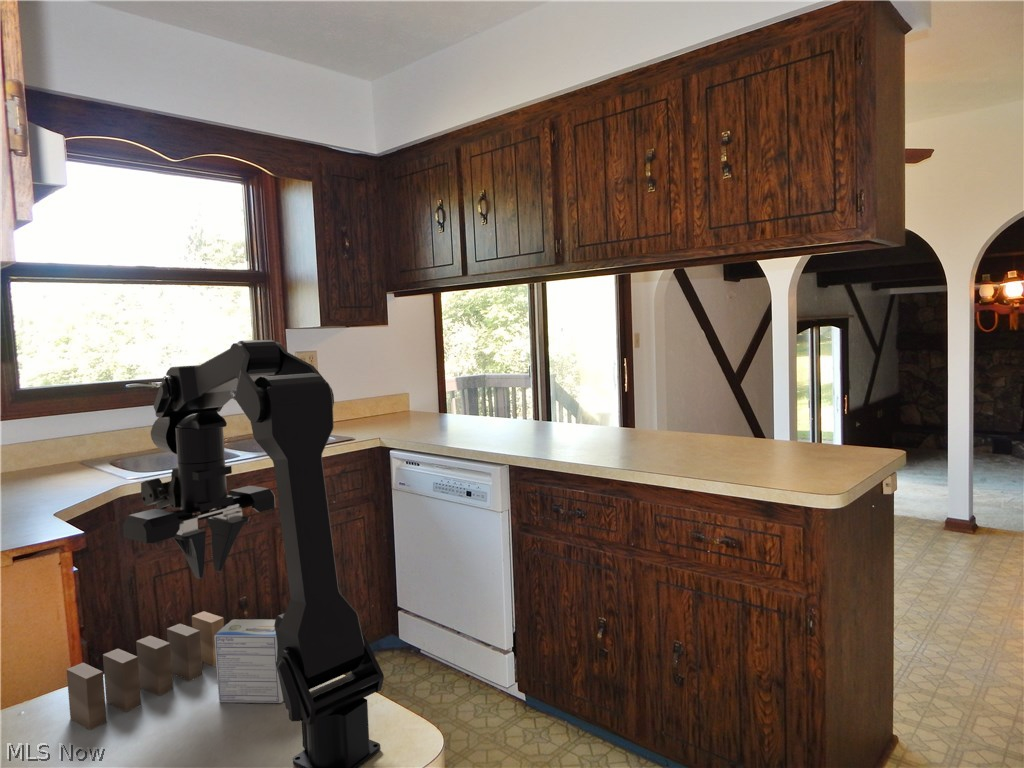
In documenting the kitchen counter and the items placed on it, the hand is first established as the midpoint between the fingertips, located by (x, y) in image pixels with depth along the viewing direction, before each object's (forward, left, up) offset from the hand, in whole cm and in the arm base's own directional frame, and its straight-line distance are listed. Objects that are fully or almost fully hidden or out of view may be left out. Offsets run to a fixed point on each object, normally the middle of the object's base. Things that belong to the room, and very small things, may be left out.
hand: (208, 574), depth 90 cm
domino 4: (0, +4, -12) cm, 13 cm away
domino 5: (+1, 0, -12) cm, 12 cm away
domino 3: (0, +8, -12) cm, 14 cm away
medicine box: (-13, +3, -12) cm, 18 cm away
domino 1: (0, +16, -12) cm, 20 cm away
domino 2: (0, +12, -12) cm, 17 cm away
